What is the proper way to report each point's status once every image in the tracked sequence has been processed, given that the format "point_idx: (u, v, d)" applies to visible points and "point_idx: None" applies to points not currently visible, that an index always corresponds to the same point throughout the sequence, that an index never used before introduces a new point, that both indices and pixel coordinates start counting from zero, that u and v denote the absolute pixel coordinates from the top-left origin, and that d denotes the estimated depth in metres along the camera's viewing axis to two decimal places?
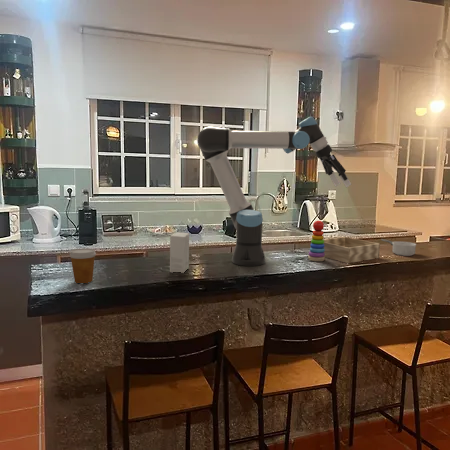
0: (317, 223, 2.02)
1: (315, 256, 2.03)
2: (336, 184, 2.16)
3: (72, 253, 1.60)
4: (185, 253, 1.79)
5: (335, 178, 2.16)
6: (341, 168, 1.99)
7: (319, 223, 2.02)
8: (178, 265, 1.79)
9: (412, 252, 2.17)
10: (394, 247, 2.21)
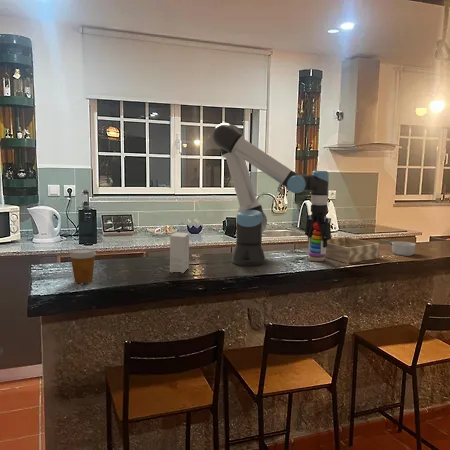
0: (317, 223, 2.02)
1: (315, 256, 2.03)
2: None
3: (72, 253, 1.60)
4: (185, 253, 1.79)
5: None
6: (329, 235, 1.98)
7: None
8: (178, 265, 1.79)
9: (411, 252, 2.18)
10: (393, 247, 2.21)
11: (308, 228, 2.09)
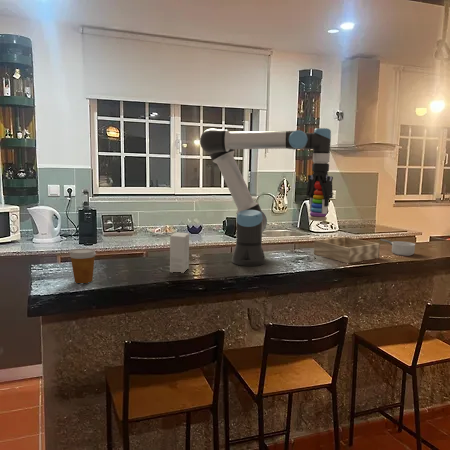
0: (319, 182, 1.99)
1: (316, 216, 2.00)
2: None
3: (72, 253, 1.60)
4: (185, 253, 1.79)
5: None
6: (330, 193, 1.96)
7: None
8: (178, 265, 1.79)
9: (411, 252, 2.18)
10: (393, 247, 2.21)
11: (309, 188, 2.06)
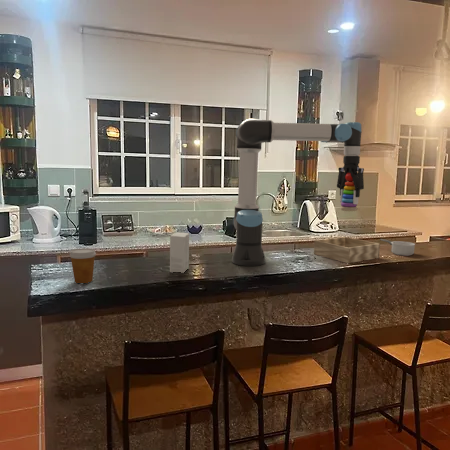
0: (350, 174, 2.08)
1: (348, 206, 2.08)
2: None
3: (72, 253, 1.60)
4: (185, 253, 1.79)
5: None
6: (362, 184, 2.04)
7: None
8: (178, 265, 1.79)
9: (411, 252, 2.18)
10: (393, 247, 2.21)
11: (340, 180, 2.15)
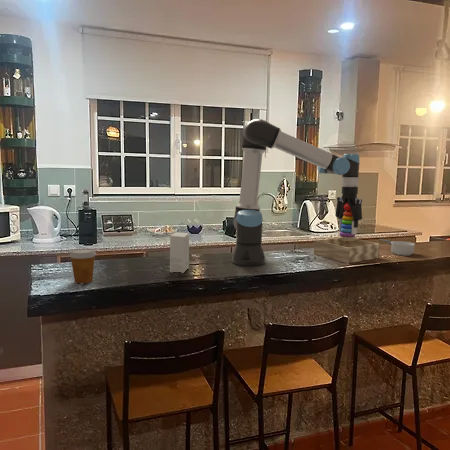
0: (348, 204, 2.10)
1: (346, 236, 2.11)
2: None
3: (72, 253, 1.60)
4: (185, 253, 1.79)
5: None
6: (360, 215, 2.07)
7: None
8: (178, 265, 1.79)
9: (411, 252, 2.18)
10: (393, 247, 2.21)
11: (338, 210, 2.17)
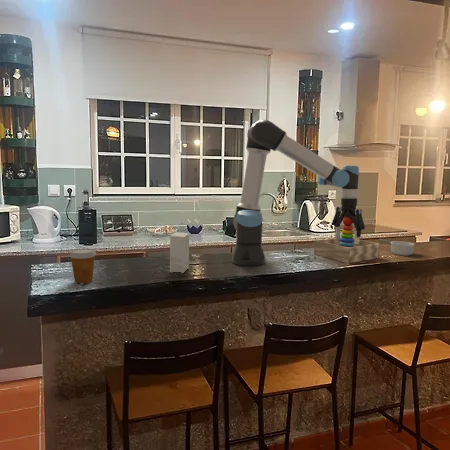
0: (347, 218, 2.11)
1: None
2: (337, 238, 2.19)
3: (72, 253, 1.60)
4: (185, 253, 1.79)
5: (339, 232, 2.19)
6: (362, 225, 2.06)
7: (349, 218, 2.11)
8: (178, 265, 1.79)
9: (410, 252, 2.18)
10: (392, 247, 2.22)
11: (336, 219, 2.19)
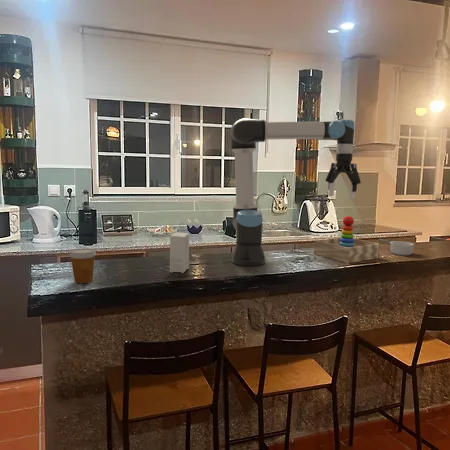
0: (347, 218, 2.11)
1: None
2: (330, 194, 2.17)
3: (72, 253, 1.60)
4: (185, 253, 1.79)
5: (332, 188, 2.17)
6: (358, 179, 2.03)
7: (349, 218, 2.11)
8: (178, 265, 1.79)
9: (410, 252, 2.18)
10: (392, 247, 2.22)
11: (330, 175, 2.17)
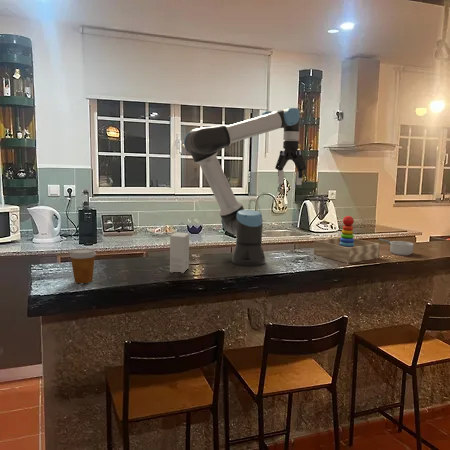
0: (347, 218, 2.11)
1: None
2: (280, 181, 2.22)
3: (72, 253, 1.60)
4: (185, 253, 1.79)
5: (282, 176, 2.22)
6: (303, 165, 2.08)
7: (349, 218, 2.11)
8: (178, 265, 1.79)
9: (409, 251, 2.19)
10: (392, 246, 2.22)
11: (279, 163, 2.22)
